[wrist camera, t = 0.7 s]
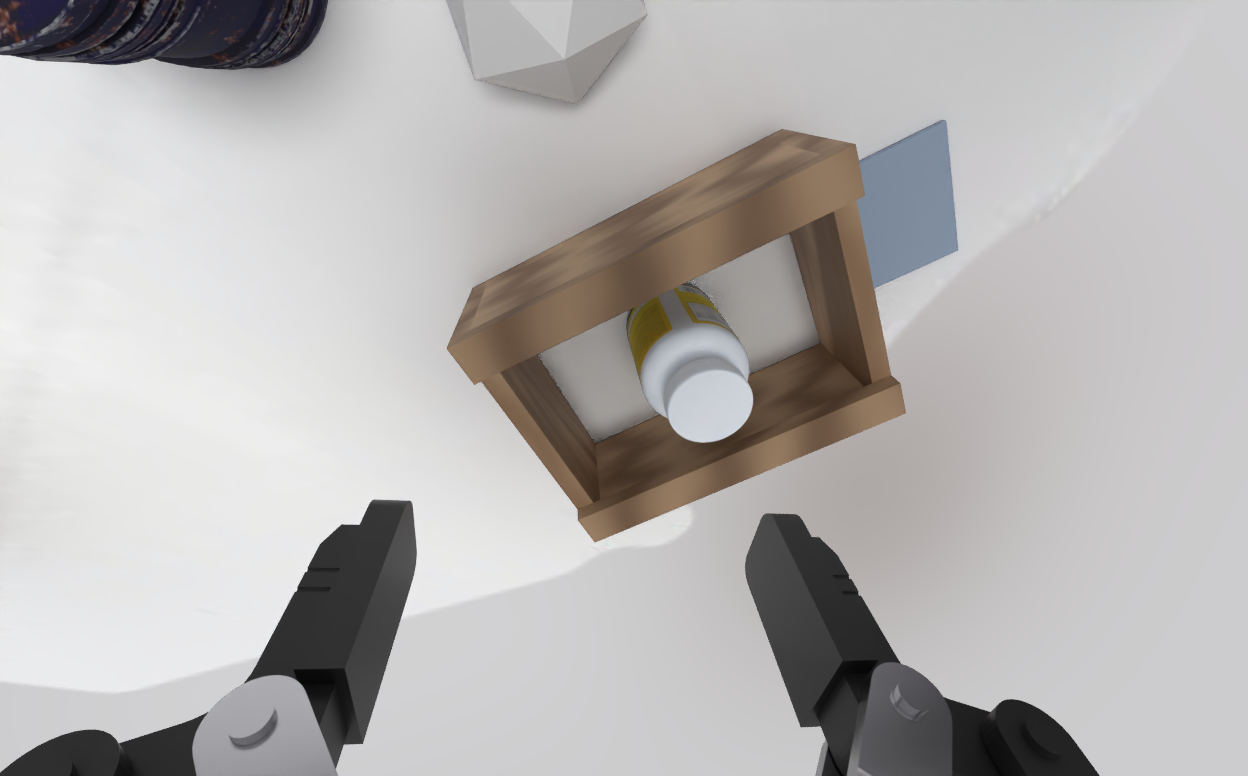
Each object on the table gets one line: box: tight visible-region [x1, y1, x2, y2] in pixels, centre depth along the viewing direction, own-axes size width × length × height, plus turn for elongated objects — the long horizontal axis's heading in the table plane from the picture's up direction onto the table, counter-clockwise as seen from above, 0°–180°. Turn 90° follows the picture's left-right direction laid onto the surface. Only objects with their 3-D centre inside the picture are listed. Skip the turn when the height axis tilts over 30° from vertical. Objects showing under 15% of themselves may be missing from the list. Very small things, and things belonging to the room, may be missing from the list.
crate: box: [447, 129, 906, 542], centre depth 33 cm, size 22×17×9 cm
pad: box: [857, 120, 958, 288], centre depth 34 cm, size 9×9×1 cm
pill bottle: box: [627, 283, 753, 443], centre depth 31 cm, size 6×6×12 cm
